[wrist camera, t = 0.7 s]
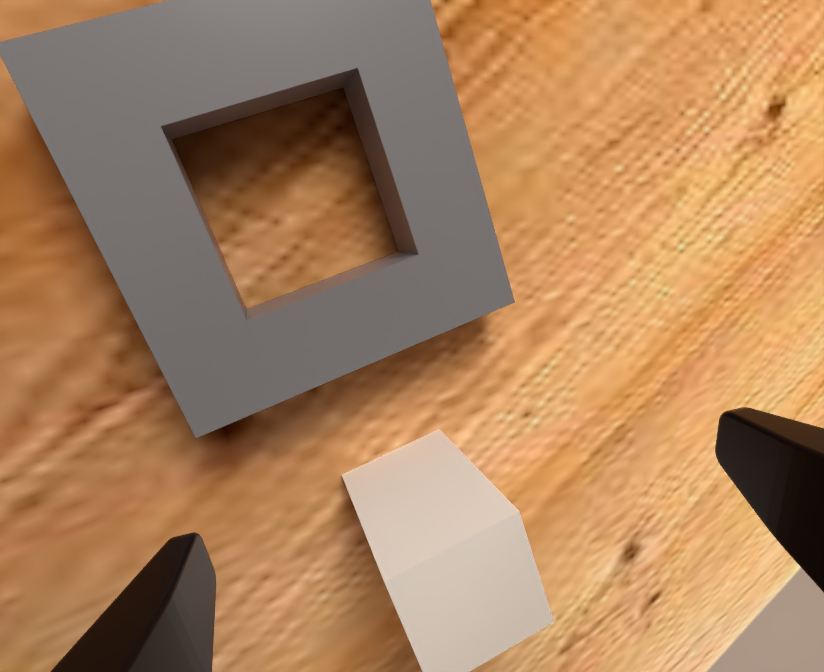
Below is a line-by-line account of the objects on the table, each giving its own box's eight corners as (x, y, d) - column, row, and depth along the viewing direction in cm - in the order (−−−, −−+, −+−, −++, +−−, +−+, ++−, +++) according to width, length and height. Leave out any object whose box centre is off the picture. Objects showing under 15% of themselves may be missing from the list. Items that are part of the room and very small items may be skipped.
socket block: (485, 294, 22) (514, 302, 20) (201, 412, 19) (195, 438, 17) (391, -25, 18) (413, -61, 16) (30, 70, 16) (-7, 43, 14)
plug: (469, 513, 24) (554, 621, 17) (377, 560, 23) (431, 693, 16) (439, 428, 23) (519, 511, 16) (341, 474, 22) (384, 582, 15)
